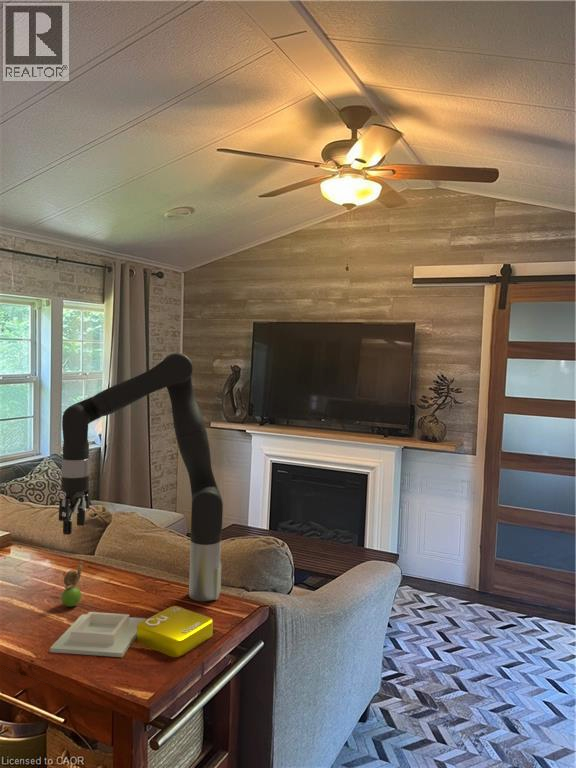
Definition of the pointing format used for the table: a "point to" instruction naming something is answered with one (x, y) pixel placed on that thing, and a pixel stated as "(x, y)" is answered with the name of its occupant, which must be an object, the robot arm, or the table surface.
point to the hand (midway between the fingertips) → (74, 529)
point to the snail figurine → (71, 588)
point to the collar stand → (99, 635)
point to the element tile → (174, 631)
